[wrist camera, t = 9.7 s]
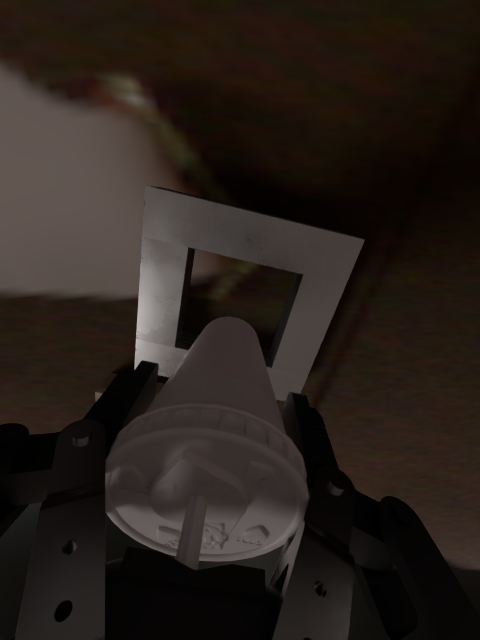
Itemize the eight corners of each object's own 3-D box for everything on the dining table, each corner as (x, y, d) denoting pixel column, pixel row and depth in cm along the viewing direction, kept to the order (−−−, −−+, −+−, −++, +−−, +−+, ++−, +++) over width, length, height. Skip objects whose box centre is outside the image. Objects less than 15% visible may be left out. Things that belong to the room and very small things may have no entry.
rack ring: (160, 187, 19) (145, 185, 17) (349, 234, 20) (365, 239, 18) (146, 352, 26) (134, 370, 23) (291, 382, 27) (296, 403, 24)
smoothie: (277, 290, 15) (424, 839, 2) (282, 380, 17) (363, 864, 5) (168, 300, 15) (-232, 780, 3) (189, 387, 18) (40, 833, 5)
